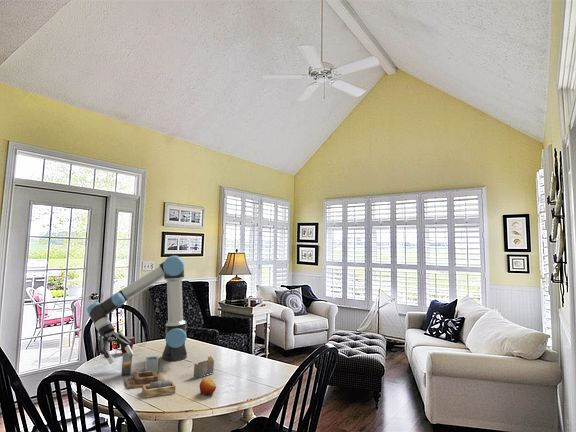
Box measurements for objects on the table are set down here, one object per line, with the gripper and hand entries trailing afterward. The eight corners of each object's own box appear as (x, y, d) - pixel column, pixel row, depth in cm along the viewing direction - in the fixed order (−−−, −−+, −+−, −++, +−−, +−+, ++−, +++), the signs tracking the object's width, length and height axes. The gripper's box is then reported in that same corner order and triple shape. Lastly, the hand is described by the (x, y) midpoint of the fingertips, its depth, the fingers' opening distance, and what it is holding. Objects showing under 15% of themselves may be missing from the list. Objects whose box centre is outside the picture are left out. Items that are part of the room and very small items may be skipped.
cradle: (160, 374, 193) (161, 368, 194) (165, 383, 181) (166, 376, 182) (124, 379, 185) (125, 372, 185) (127, 389, 173) (127, 381, 173)
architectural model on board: (209, 373, 201) (210, 355, 202) (213, 374, 199) (214, 356, 200) (193, 378, 192) (194, 359, 193) (196, 379, 191) (197, 360, 191)
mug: (117, 356, 221) (119, 340, 222) (113, 353, 227) (114, 337, 228) (134, 354, 228) (136, 338, 229) (130, 351, 234) (131, 335, 235)
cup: (155, 368, 203) (156, 356, 203) (157, 372, 197) (158, 359, 198) (144, 370, 200) (145, 357, 200) (146, 373, 194) (147, 360, 195)
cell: (130, 372, 195) (132, 351, 196) (131, 375, 191) (132, 353, 192) (120, 373, 192) (122, 351, 194) (121, 376, 188) (123, 354, 189)
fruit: (196, 387, 175) (206, 373, 176) (210, 396, 175) (219, 381, 176) (193, 393, 167) (203, 379, 168) (207, 403, 167) (217, 388, 168)
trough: (172, 387, 177) (172, 377, 177) (175, 393, 170) (175, 381, 171) (142, 392, 170) (143, 380, 170) (144, 397, 164) (144, 386, 164)
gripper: (118, 327, 212) (135, 357, 205) (80, 336, 189) (98, 370, 182) (126, 319, 210) (143, 349, 203) (89, 327, 187) (107, 361, 180)
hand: (122, 359), depth 192 cm, fingers open, 13 cm apart
